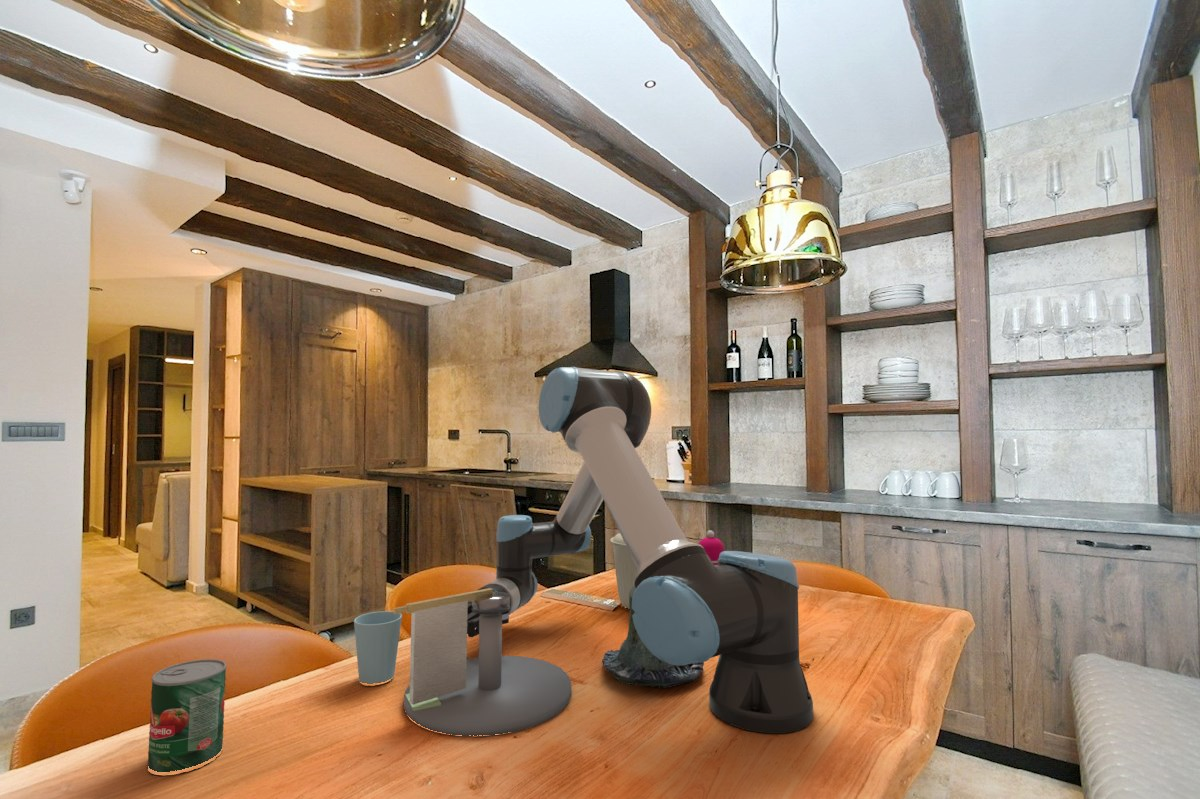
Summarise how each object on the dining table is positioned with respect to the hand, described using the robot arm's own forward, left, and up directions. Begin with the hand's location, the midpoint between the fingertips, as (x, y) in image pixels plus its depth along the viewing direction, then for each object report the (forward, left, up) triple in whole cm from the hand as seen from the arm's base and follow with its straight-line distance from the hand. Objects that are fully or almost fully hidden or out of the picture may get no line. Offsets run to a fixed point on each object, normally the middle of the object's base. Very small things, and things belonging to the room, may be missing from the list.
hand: (431, 642), depth 91 cm
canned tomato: (-5, +31, -9) cm, 33 cm away
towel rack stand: (-5, -3, -6) cm, 8 cm away
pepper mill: (+15, -65, -9) cm, 67 cm away
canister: (+29, -56, -9) cm, 64 cm away
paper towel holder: (-3, -9, -9) cm, 13 cm away
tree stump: (-5, -37, -9) cm, 39 cm away
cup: (+11, +7, -9) cm, 16 cm away
